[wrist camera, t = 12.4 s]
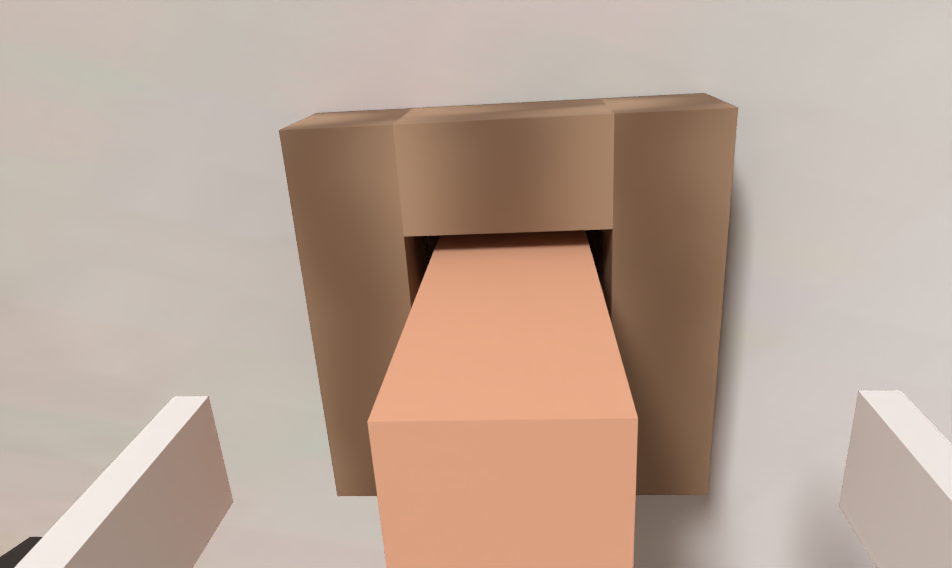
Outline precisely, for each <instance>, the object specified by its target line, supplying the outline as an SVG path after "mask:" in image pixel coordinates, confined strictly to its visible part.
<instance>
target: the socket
mask: <svg viewBox="0 0 952 568" xmlns="http://www.w3.org/2000/svg"><path fill="white" fill-rule="evenodd" d="M737 114H738V107H735V106H733V105H731V104H729V103H726V102H724V101H722V100H719V99H717V98H715V97H712V96H710V95H708V94H705V93H697V94H677V95H658V96H639V97H619V98H600V99H581V100H561V101H542V102H522V103H503V104H484V105H464V106H445V107H426V108H406V109H387V110H367V111H348V112H329V113H315V114H313V115H311V116H309V117H307V118H305V119H302V120H300V121H298V122H296V123H294V124H292V125H289V126H287V127H285V128H283V129H281V130H279V134H280V140H281V146H282V152H283V159H284V165H285V171H286V177H287V184H288V190H289V196H290V202H291V209H292V215H293V221H294V227H295V234H296V240H297V246H298V252H299V259H300V265H301V271H302V277H303V284H304V290H305V296H306V302H307V309H308V315H309V321H310V327H311V334H312V340H313V346H314V352H315V359H316V365H317V371H318V377H319V384H320V390H321V396H322V402H323V409H324V415H325V421H326V427H327V434H328V440H329V446H330V452H331V459H332V465H333V471H334V477H335V484H336V490H337V496H377V490H376V483H375V475H374V468H373V461H372V453H371V446H370V438H369V431H368V423H367V421H368V419H369V416H370V414H371V411H372V409H373V406H374V403H375V401H376V398H377V396H378V393H379V391H380V388H381V385H382V383H383V380H384V378H385V375H386V373H387V370H388V367H389V365H390V362H391V360H392V357H393V354H394V352H395V349H396V347H397V344H398V342H399V339H400V336H401V334H402V331H403V329H404V326H405V324H406V321H407V318H408V316H409V313H410V311H411V308H412V306H413V303H414V300H415V298H416V295H417V293H418V290H419V288H420V285H421V282H422V280H423V277H424V275H425V272H426V270H427V261H426V250H425V239H424V236H434V235H462V234H489V233H517V232H545V231H573V230H600V233H599V281H600V285H601V288H602V292H603V295H604V299H605V302H606V306H607V310H608V313H609V317H610V320H611V324H612V327H613V331H614V334H615V338H616V342H617V345H618V349H619V352H620V356H621V359H622V363H623V366H624V370H625V374H626V377H627V381H628V384H629V388H630V391H631V395H632V399H633V402H634V406H635V409H636V413H637V416H638V436H637V467H636V495H708V483H709V470H710V457H711V445H712V432H713V419H714V406H715V394H716V381H717V368H718V355H719V343H720V330H721V317H722V305H723V292H724V279H725V266H726V254H727V241H728V228H729V216H730V203H731V190H732V177H733V165H734V152H735V139H736V126H737Z"/></svg>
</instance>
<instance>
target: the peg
mask: <svg viewBox="0 0 952 568" xmlns="http://www.w3.org/2000/svg"><path fill="white" fill-rule="evenodd" d="M367 423H368V431H369V438H370V446H371V453H372V461H373V468H374V475H375V483H376V490H377V498H378V505H379V513H380V520H381V528H382V535H383V543H384V550H385V558H386V565H387V568H633V560H634V529H635V498H636V467H637V436H638V416H637V413H636V409H635V406H634V402H633V399H632V395H631V391H630V388H629V384H628V381H627V377H626V374H625V370H624V366H623V363H622V359H621V356H620V352H619V349H618V345H617V342H616V338H615V334H614V331H613V327H612V324H611V320H610V317H609V313H608V310H607V306H606V302H605V299H604V295H603V292H602V288H601V285H600V281H599V278H598V274H597V270H596V267H595V263H594V260H593V256H592V253H591V249H590V246H589V242H588V238H587V235H586V231H585V230H573V231H545V232H517V233H489V234H462V235H440V236H439V239H438V241H437V244H436V246H435V249H434V252H433V254H432V257H431V259H430V262H429V264H428V267H427V270H426V272H425V275H424V277H423V280H422V282H421V285H420V288H419V290H418V293H417V295H416V298H415V300H414V303H413V306H412V308H411V311H410V313H409V316H408V318H407V321H406V324H405V326H404V329H403V331H402V334H401V336H400V339H399V342H398V344H397V347H396V349H395V352H394V354H393V357H392V360H391V362H390V365H389V367H388V370H387V373H386V375H385V378H384V380H383V383H382V385H381V388H380V391H379V393H378V396H377V398H376V401H375V403H374V406H373V409H372V411H371V414H370V416H369V419H368V421H367Z"/></svg>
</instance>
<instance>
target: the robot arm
mask: <svg viewBox="0 0 952 568" xmlns="http://www.w3.org/2000/svg"><path fill="white" fill-rule="evenodd" d="M232 503H233V499H232V494H231V490H230V486H229V482H228V477H227V473H226V469H225V464H224V460H223V456H222V451H221V447H220V443H219V439H218V434H217V430H216V426H215V421H214V417H213V413H212V409H211V404H210V400H209V396H174V397H173V398H172V399H171V400H170V402H169V403H168V404H167V405H166V406H165V407H164V408H163V409H162V410H161V411H160V412H159V413H158V414H157V415H156V417H155V418H154V419H153V420H152V421H151V422H150V423H149V424H148V425H147V426H146V427H145V428H144V429H143V430H142V431H141V433H140V434H139V435H138V436H137V437H136V438H135V439H134V440H133V441H132V442H131V443H130V444H129V445H128V446H127V448H126V449H125V450H124V451H123V452H122V453H121V454H120V455H119V456H118V457H117V458H116V459H115V460H114V461H113V463H112V464H111V465H110V466H109V467H108V468H107V469H106V470H105V471H104V472H103V473H102V474H101V475H100V476H99V478H98V479H97V480H96V481H95V482H94V483H93V484H92V485H91V486H90V487H89V488H88V489H87V490H86V491H85V493H84V494H83V495H82V496H81V497H80V498H79V499H78V500H77V501H76V502H75V503H74V504H73V505H72V506H71V508H70V509H69V510H68V511H67V512H66V513H65V514H64V515H63V516H62V517H61V518H60V519H59V520H58V521H57V522H56V524H55V525H54V526H53V527H52V528H51V529H50V530H49V531H48V532H47V533H46V534H45V535H44V536H43V537H29V538H28V539H26V540H25V541H23V542H22V543H20V544H19V545H17V546H16V547H15V548H13V549H12V550H10V551H9V552H7V553H6V554H4V555H3V556H1V557H0V568H193V566H194V565H195V563H196V561H197V560H198V558H199V556H200V555H201V553H202V552H203V550H204V548H205V547H206V545H207V543H208V542H209V540H210V539H211V537H212V535H213V534H214V532H215V530H216V529H217V527H218V526H219V524H220V522H221V521H222V519H223V517H224V516H225V514H226V513H227V511H228V509H229V508H230V506H231V504H232ZM839 507H840V509H841V510H842V512H843V514H844V515H845V517H846V518H847V520H848V522H849V523H850V525H851V527H852V528H853V530H854V532H855V533H856V535H857V537H858V538H859V540H860V541H861V543H862V545H863V546H864V548H865V550H866V551H867V553H868V555H869V556H870V558H871V559H872V561H873V563H874V564H875V566H876V568H952V444H951V443H950V442H949V441H948V440H947V439H946V438H945V437H944V436H943V435H942V433H941V432H940V431H939V430H938V429H937V428H936V427H935V426H934V425H933V424H932V423H931V422H930V421H929V420H928V419H927V418H926V417H925V416H924V415H923V414H922V413H921V412H920V410H919V409H918V408H917V407H916V406H915V405H914V404H913V403H912V402H911V401H910V400H909V399H908V398H907V397H906V396H905V395H904V394H903V393H902V392H901V391H900V390H879V391H858V396H857V402H856V408H855V414H854V420H853V426H852V432H851V438H850V444H849V449H848V455H847V461H846V467H845V473H844V479H843V485H842V491H841V497H840V503H839Z"/></svg>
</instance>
